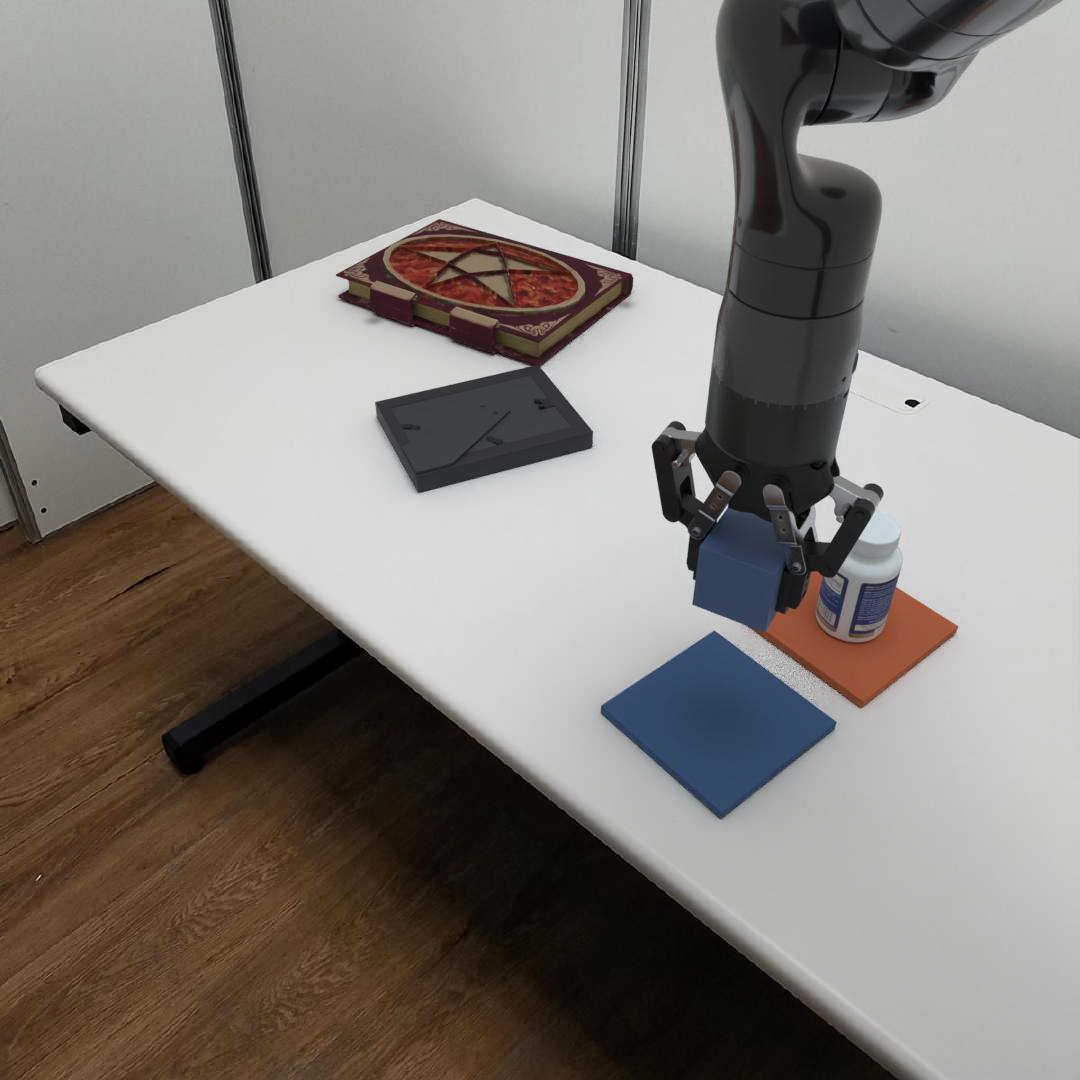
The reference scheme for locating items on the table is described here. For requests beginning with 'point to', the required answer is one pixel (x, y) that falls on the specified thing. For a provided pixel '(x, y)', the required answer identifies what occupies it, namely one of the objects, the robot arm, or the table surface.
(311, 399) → the table surface
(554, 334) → the book
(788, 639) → the terracotta mat
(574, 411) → the picture frame
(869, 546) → the pill bottle
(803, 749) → the blue mat
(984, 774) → the table surface
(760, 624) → the blue block
